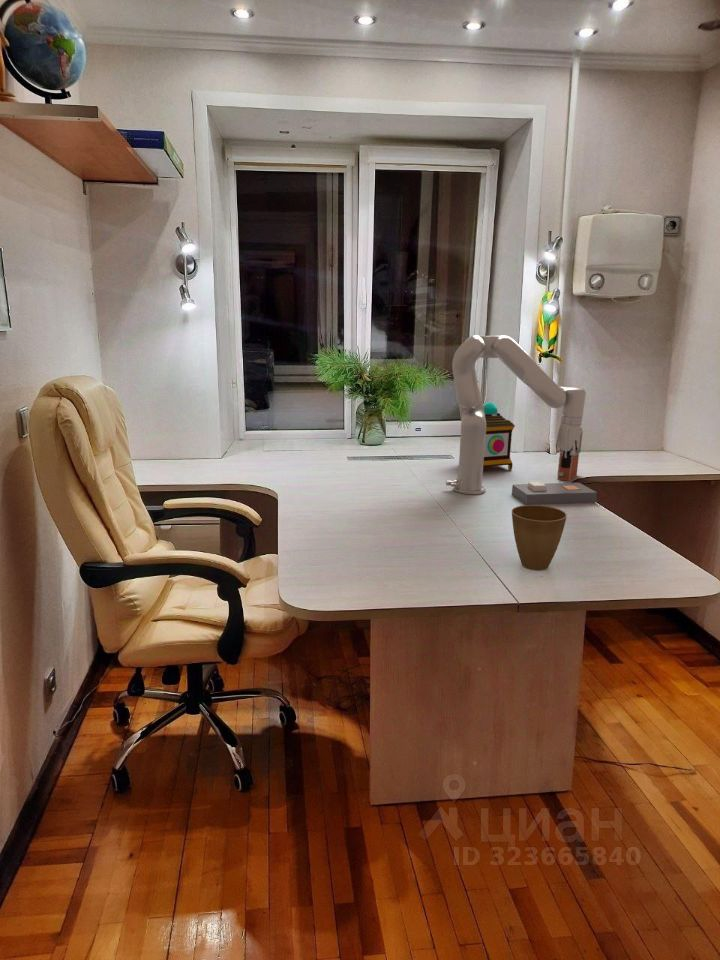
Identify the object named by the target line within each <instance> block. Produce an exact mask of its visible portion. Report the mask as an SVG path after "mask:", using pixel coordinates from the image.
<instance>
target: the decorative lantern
mask: <svg viewBox="0 0 720 960" xmlns="http://www.w3.org/2000/svg"><path fill="white" fill-rule="evenodd" d="M483 408H484V414H485V419H486V436H485V447H484V461H483V468H488V467H498V466H499V467H500V466H501V467H502V466H507V469H508V471H512V470H513V462H512V459H511V447H512V437H513V436H512V435H513V430H514V428H515V427H516V425H515V424H514V423H513V422H512V421H511V420H509V419H507V418H505V417H503V416H502V415H501V413H499V412H498V407H497V406H496V405H495V403H493V402H490V401H489V402H486V403H485V404H483Z"/></svg>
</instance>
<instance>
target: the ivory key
mask: <svg viewBox="0 0 720 960" xmlns="http://www.w3.org/2000/svg"><path fill="white" fill-rule="evenodd" d="M527 484H528V488H529V489H530V490H532V491H546V485H545V484H546V483H543V482H541V481H532V482H531V481H530V482H528V483H527Z"/></svg>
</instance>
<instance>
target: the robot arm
mask: <svg viewBox="0 0 720 960" xmlns="http://www.w3.org/2000/svg"><path fill="white" fill-rule="evenodd" d="M452 358H453V359H452V364H451V365H452V373H453V379H454V380H453V382H454V386H455V392H456V395H455V398H456V402H457V405H458V410H459V413H460V414H459V415H460V420H461V421H460V439H459V441H460V442H459V460H458V473H457V474H458V476H457V477H455V479H453V480H446V481H445V486H449V487H453V491H454V492H456V493H459V494H464V495H480V494H481V495H482V494H484V493H485V492H486V487H485V486H484V485H483V474H484V467H483V461H484V447H485V436H486V419H485V414H484V408H483V406H484V404H483V403H484V402H483V399H482V392H481V389H480V387H479V383H478V378H477V371H476V362H477V360H478V359H482V358H485V359H489V358H490V359H499V360H500V362H502V363H503V364H504V365H505V366H506V368H508V369H509V370H510V371H511V372H512V373H513V374H514V376H516V377H517V378H518V379H519V380H520V381H521V382H522V383H524V384H525V385H526V386H527V387H529V388H530V389H531V391H533V392H534V393H535V394H536V395H537V396H538V397H539V398H540V399H541V401H543V402H544V403H545V404H546V405H547V406H548V407H550V408H551V409H559V408H561V407H562V410H561V411H562V412H561V419H560V424H559V427H558V432H557V438H556V443H555V444H556V447H557V448H558V449H559V451H560V450H561V451H562V454H561V456H562V459H561V467H562V468H570V465H571V458H572V456H573V455H575V452H577V451H578V449H579V443H580V427H582V424H583V416H584V409H585V402H586V397H587V396H586V395H587V394H586V393H587V392H586V390H585V389H584V388H581V387H566V386H559V385H558V384H557V383H556V382H555V381H554V380H553V379H552V377H549V375H548V374H547V373H546V372H545V371H544V370H543V368H542V367H541V366H540V365H539V364H538V363H537V361H536V360H535V359H533V357H532V356H530V354H529V353H528V352H526V351H525V350H524V348H523V347H521V346H520V345H519V344H518V343H517V342H516V341H515V340H514V339H513V338H512V337H510V336H508V335H471V336H468V337H467V338H466V339H465V340H464V342H463V343H461V345H459V347H458V348H456V351H455V353H454V355H453V357H452Z"/></svg>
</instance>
